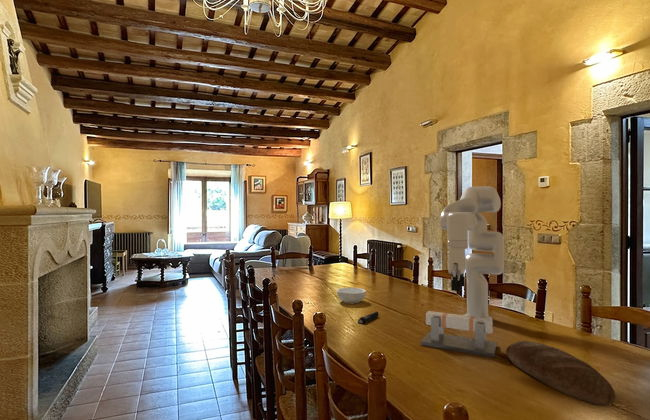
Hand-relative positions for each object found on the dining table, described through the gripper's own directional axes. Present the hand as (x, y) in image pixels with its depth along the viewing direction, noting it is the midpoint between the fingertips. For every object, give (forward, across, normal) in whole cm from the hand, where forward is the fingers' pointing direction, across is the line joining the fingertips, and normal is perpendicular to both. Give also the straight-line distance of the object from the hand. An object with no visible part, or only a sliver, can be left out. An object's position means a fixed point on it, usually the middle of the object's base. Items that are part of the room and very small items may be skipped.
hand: (458, 288), depth 142 cm
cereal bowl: (+23, -43, -66) cm, 82 cm away
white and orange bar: (+15, 0, 0) cm, 15 cm away
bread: (+23, +14, +31) cm, 41 cm away
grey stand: (+22, 0, 0) cm, 22 cm away
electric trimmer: (+23, -14, -44) cm, 51 cm away
